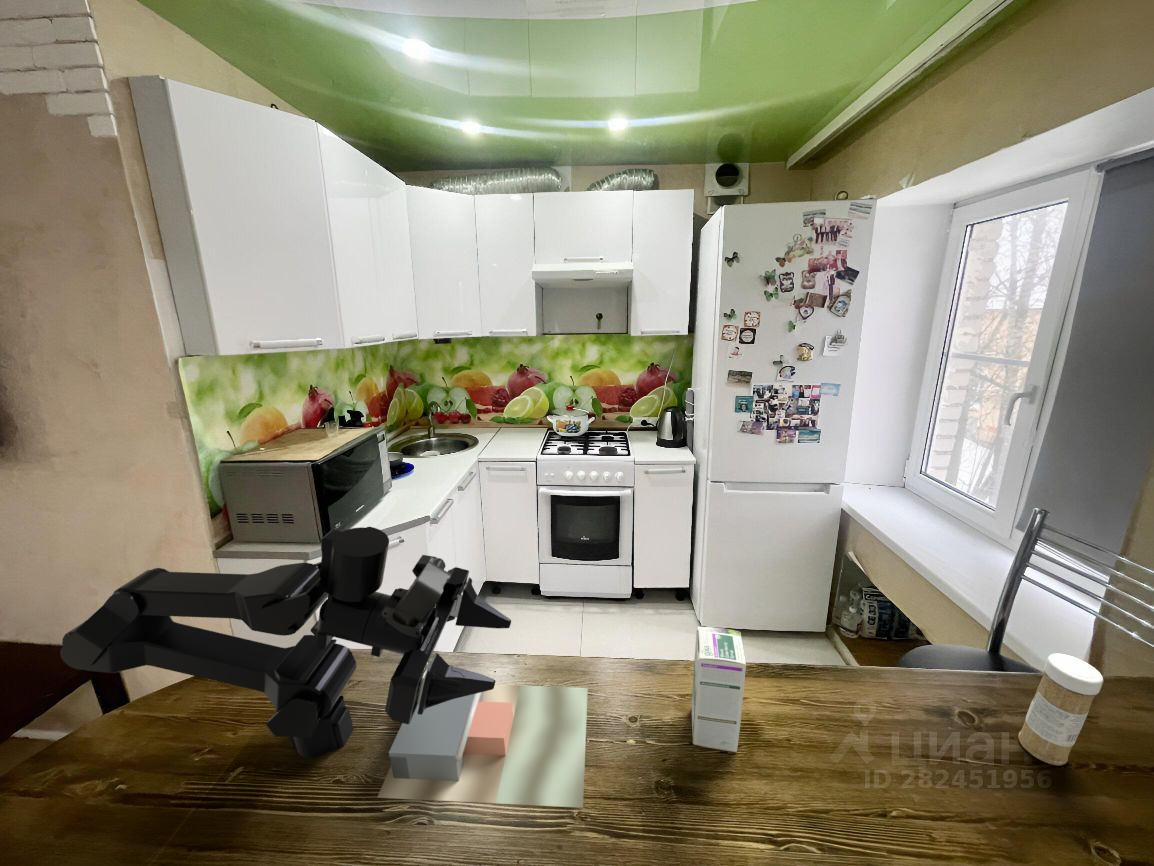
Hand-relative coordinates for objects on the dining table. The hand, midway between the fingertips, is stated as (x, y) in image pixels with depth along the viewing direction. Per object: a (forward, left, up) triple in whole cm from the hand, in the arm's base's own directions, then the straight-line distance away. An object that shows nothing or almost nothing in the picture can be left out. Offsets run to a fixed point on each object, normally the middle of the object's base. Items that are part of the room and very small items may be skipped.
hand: (503, 652), depth 54 cm
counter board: (-2, +1, -16) cm, 16 cm away
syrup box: (+27, +4, -16) cm, 31 cm away
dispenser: (-9, +1, -15) cm, 17 cm away
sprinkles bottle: (+68, +3, -16) cm, 70 cm away
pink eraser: (-5, +1, -15) cm, 16 cm away
